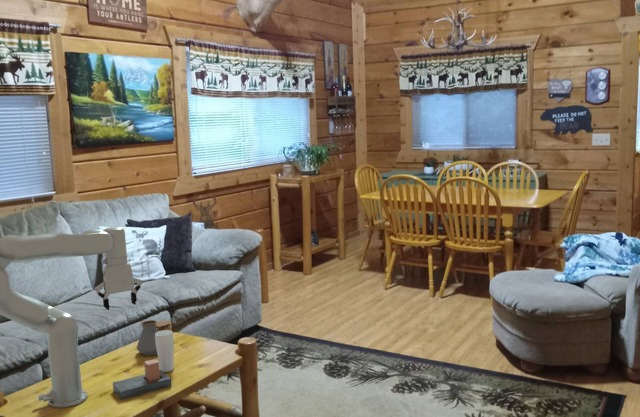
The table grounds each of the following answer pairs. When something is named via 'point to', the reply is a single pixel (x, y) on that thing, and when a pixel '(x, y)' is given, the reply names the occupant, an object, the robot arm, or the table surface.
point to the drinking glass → (165, 350)
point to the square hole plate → (140, 385)
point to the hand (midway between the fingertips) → (120, 306)
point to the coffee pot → (149, 337)
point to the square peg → (152, 370)
